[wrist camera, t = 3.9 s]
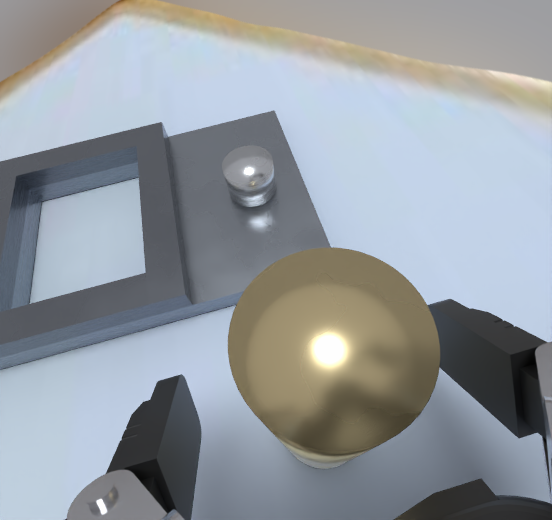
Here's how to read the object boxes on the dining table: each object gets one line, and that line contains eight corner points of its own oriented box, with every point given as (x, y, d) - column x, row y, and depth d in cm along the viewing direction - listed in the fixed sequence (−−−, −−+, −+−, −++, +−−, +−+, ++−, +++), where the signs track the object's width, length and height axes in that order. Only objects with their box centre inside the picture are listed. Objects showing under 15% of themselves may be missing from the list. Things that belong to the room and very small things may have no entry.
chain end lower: (275, 125, 26) (271, 83, 23) (336, 276, 19) (340, 242, 16) (18, 189, 25) (-18, 154, 22) (-14, 373, 18) (-72, 354, 15)
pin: (346, 369, 17) (385, 227, 7) (377, 454, 15) (484, 412, 5) (271, 390, 16) (212, 274, 7) (293, 480, 15) (252, 483, 5)
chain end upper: (174, 150, 26) (149, 94, 22) (199, 314, 19) (170, 273, 15) (-92, 217, 25) (-165, 170, 21) (-167, 415, 18) (-295, 398, 14)
